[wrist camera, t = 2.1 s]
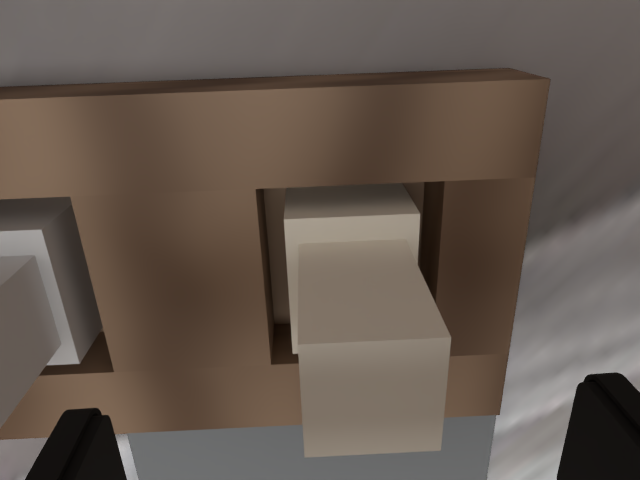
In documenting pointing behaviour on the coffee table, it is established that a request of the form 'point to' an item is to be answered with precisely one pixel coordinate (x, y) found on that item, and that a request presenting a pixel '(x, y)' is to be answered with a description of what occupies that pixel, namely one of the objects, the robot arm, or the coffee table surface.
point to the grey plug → (41, 294)
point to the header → (265, 227)
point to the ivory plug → (363, 322)
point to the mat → (311, 472)
